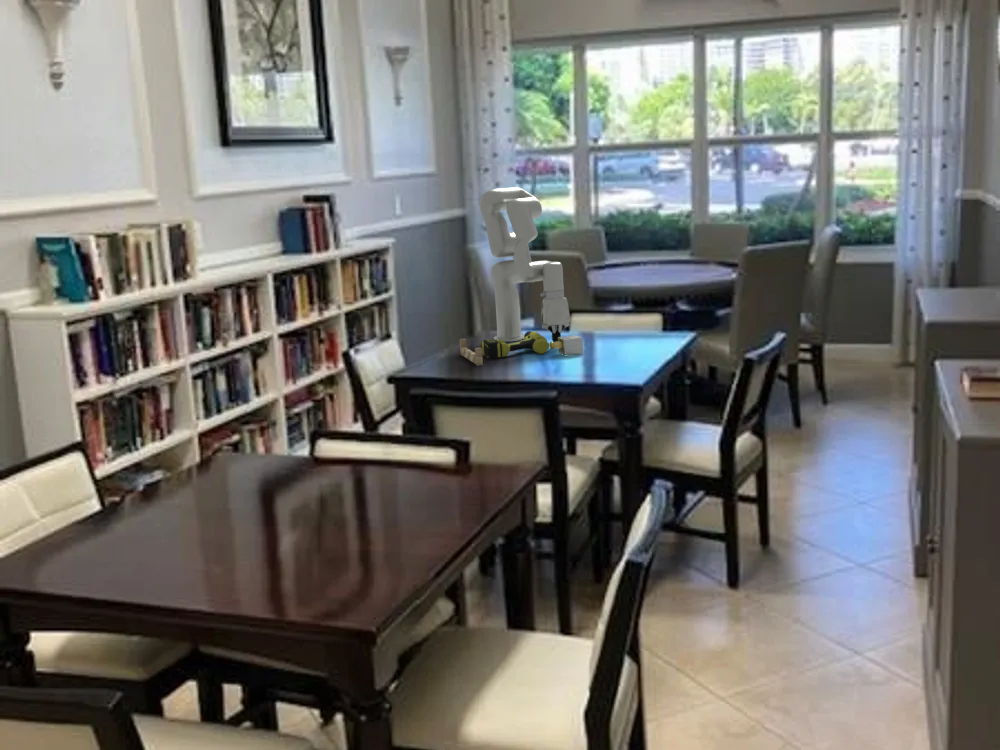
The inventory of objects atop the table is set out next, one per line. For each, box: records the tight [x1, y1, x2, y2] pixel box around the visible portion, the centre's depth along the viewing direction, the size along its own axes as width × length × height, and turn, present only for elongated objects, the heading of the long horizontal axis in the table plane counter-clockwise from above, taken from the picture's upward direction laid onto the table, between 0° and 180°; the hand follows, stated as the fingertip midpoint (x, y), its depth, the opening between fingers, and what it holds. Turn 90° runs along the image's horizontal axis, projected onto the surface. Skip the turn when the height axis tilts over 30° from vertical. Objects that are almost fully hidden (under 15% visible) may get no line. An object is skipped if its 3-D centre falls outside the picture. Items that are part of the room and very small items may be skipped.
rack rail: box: [459, 338, 484, 367], centre depth 382 cm, size 24×2×6 cm, turn 16°
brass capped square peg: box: [549, 341, 563, 350], centre depth 382 cm, size 3×10×3 cm, turn 106°
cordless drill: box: [480, 330, 551, 361], centre depth 394 cm, size 7×25×25 cm
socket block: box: [557, 334, 584, 356], centre depth 382 cm, size 7×7×6 cm
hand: (556, 342), depth 399 cm, fingers closed
